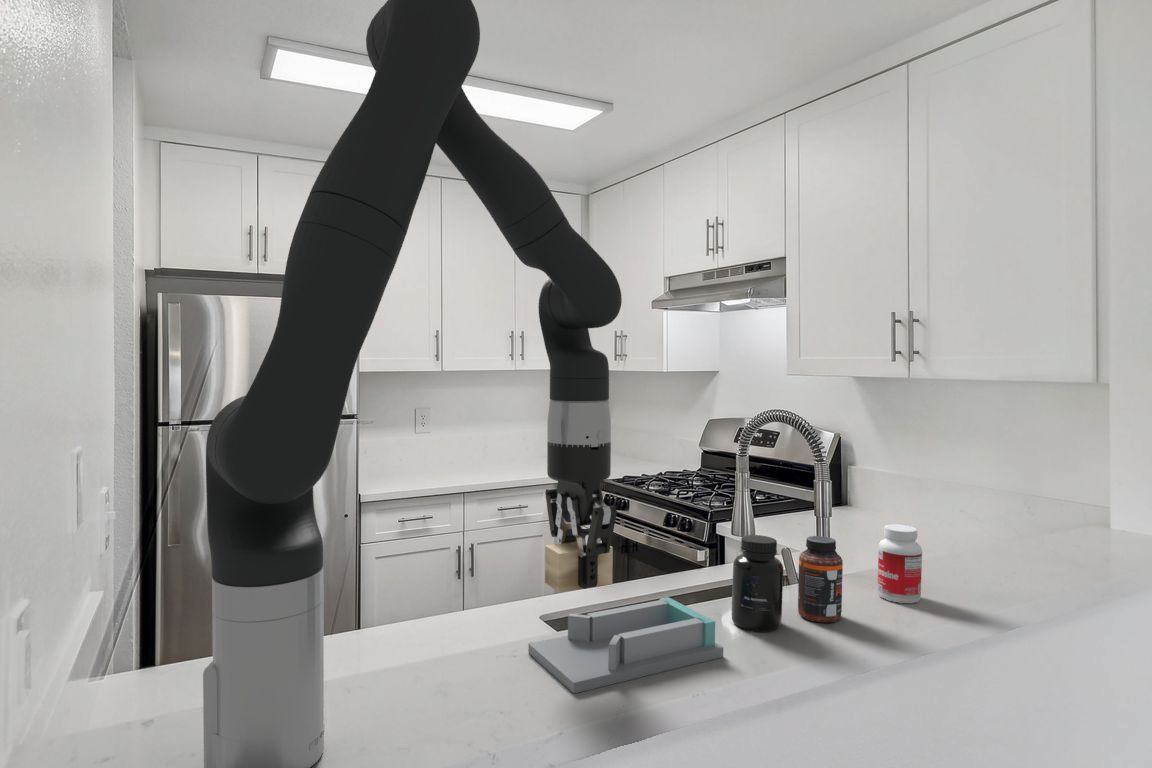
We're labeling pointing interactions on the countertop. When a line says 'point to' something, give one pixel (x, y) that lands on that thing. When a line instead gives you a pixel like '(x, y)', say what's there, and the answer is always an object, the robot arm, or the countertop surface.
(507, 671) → the countertop surface
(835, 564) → the supplement bottle
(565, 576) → the beech block
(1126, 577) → the countertop surface
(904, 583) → the pill bottle
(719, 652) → the guide board
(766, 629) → the supplement bottle
